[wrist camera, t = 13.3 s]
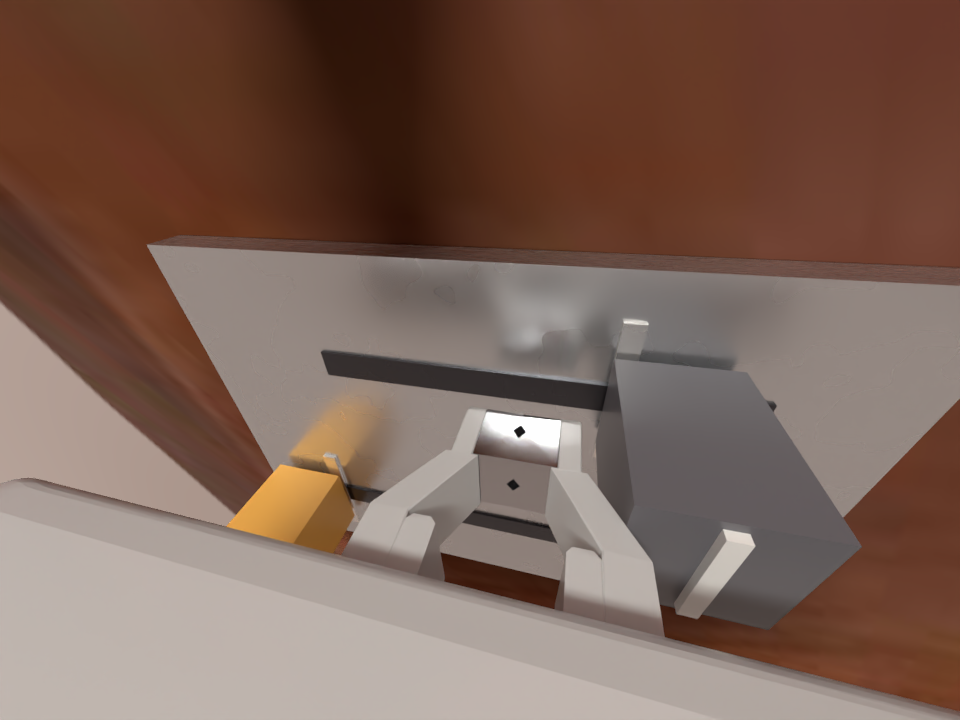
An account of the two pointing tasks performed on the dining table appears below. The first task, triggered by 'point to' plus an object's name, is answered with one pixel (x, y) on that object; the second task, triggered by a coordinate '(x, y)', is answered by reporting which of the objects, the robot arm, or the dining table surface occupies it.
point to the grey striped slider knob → (715, 493)
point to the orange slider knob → (298, 509)
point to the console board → (554, 354)
